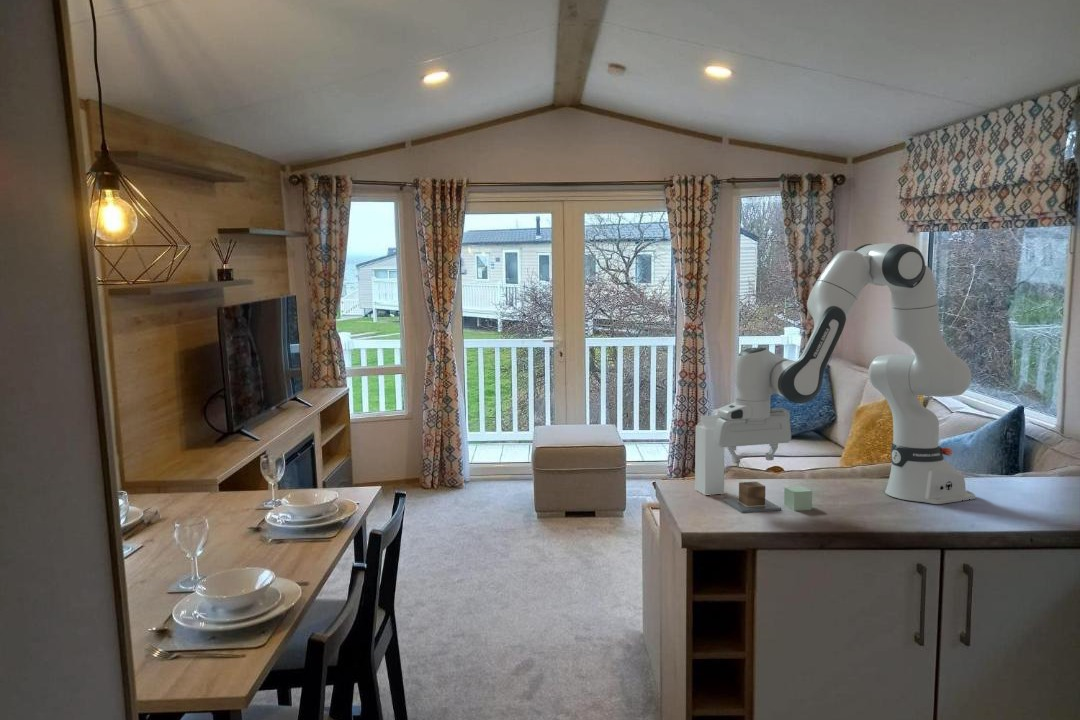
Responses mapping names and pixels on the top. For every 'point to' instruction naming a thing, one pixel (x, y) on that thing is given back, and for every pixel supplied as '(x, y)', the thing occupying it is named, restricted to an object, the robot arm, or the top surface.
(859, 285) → the robot arm
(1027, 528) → the top surface
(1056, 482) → the top surface
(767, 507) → the coaster
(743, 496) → the walnut block
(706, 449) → the milk
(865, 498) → the top surface
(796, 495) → the green block
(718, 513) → the top surface
